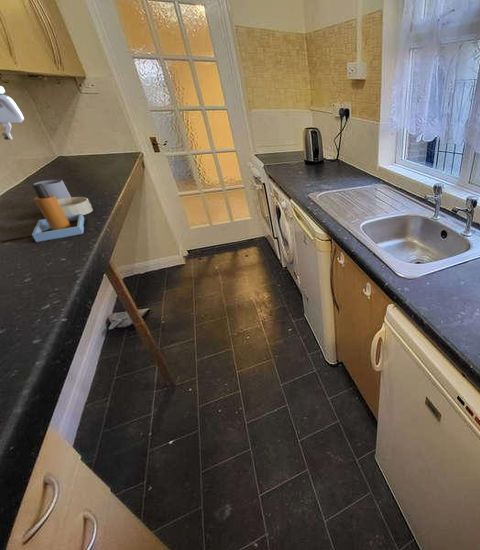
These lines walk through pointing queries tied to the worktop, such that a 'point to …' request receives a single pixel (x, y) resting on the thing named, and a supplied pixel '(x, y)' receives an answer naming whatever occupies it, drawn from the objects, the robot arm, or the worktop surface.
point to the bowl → (75, 205)
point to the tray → (60, 233)
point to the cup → (55, 188)
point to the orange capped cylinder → (50, 208)
